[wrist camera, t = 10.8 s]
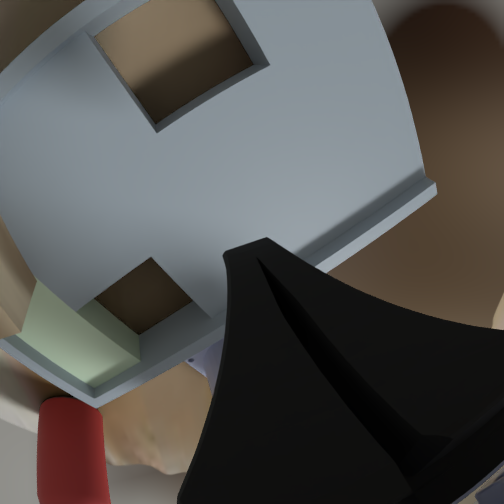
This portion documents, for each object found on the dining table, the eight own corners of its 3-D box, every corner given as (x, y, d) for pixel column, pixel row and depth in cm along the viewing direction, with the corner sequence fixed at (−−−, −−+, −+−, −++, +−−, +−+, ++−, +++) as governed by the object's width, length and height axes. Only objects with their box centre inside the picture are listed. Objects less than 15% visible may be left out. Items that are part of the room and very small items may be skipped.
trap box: (405, 174, 22) (437, 194, 19) (96, 373, 23) (96, 408, 20) (301, -75, 10) (332, -94, 8) (-82, 214, 12) (-108, 242, 9)
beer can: (113, 407, 26) (128, 524, 17) (87, 431, 28) (97, 532, 18) (51, 384, 23) (50, 511, 13) (32, 412, 24) (31, 519, 14)
